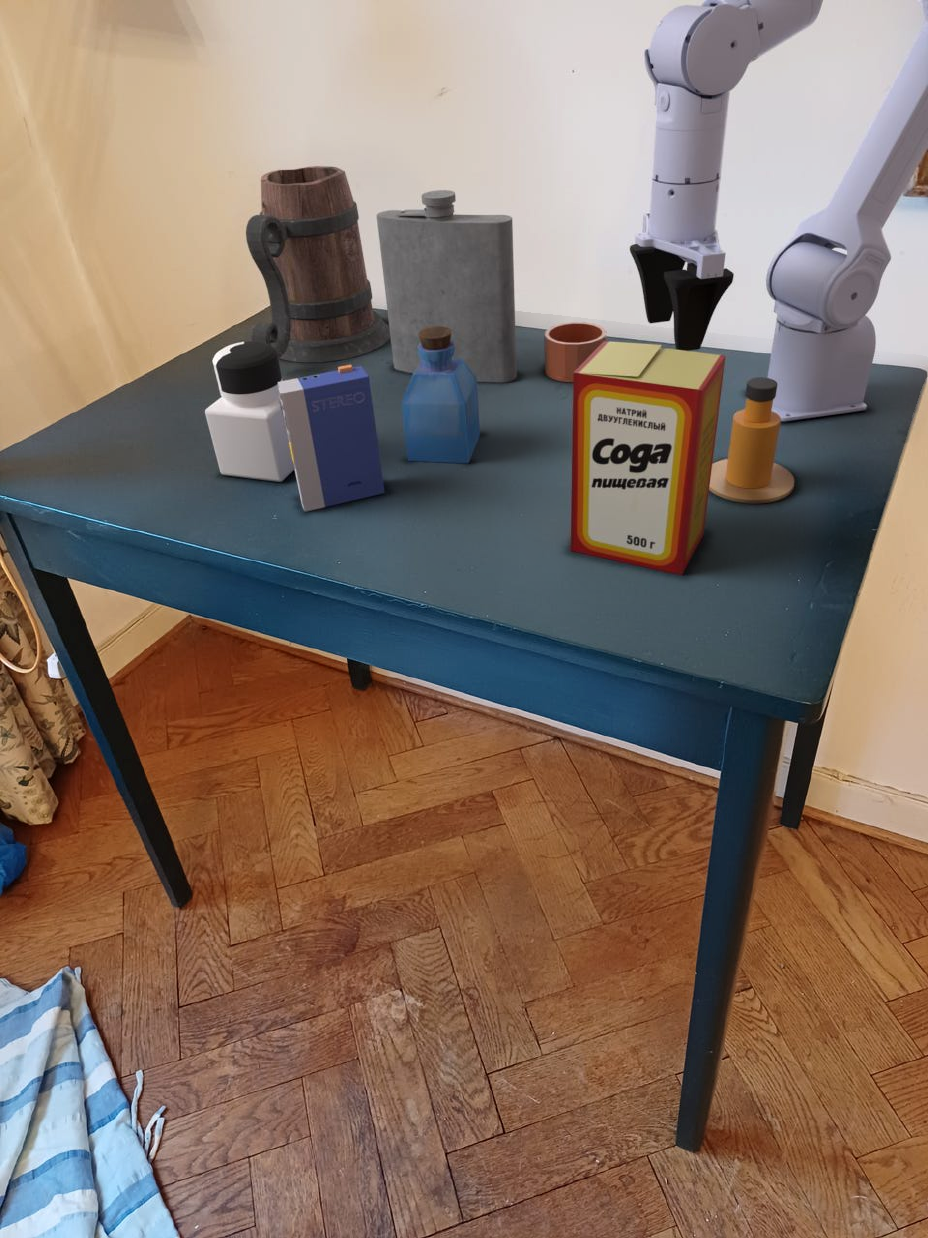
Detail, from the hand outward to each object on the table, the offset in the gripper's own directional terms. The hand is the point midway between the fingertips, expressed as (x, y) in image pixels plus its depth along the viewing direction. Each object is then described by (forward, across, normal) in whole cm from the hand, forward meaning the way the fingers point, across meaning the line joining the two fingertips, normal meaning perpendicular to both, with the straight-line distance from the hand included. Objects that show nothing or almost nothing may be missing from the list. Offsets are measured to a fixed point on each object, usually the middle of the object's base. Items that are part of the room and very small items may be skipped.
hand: (672, 334), depth 83 cm
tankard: (+11, -37, -34) cm, 51 cm away
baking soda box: (+11, +18, -9) cm, 23 cm away
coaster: (+10, +11, +4) cm, 16 cm away
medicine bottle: (+11, -6, -40) cm, 42 cm away
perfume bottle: (+11, -4, -22) cm, 25 cm away
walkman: (+11, +3, -33) cm, 35 cm away
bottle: (+10, +11, +4) cm, 15 cm away
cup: (+10, -19, -4) cm, 22 cm away
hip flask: (+11, -23, -18) cm, 31 cm away
